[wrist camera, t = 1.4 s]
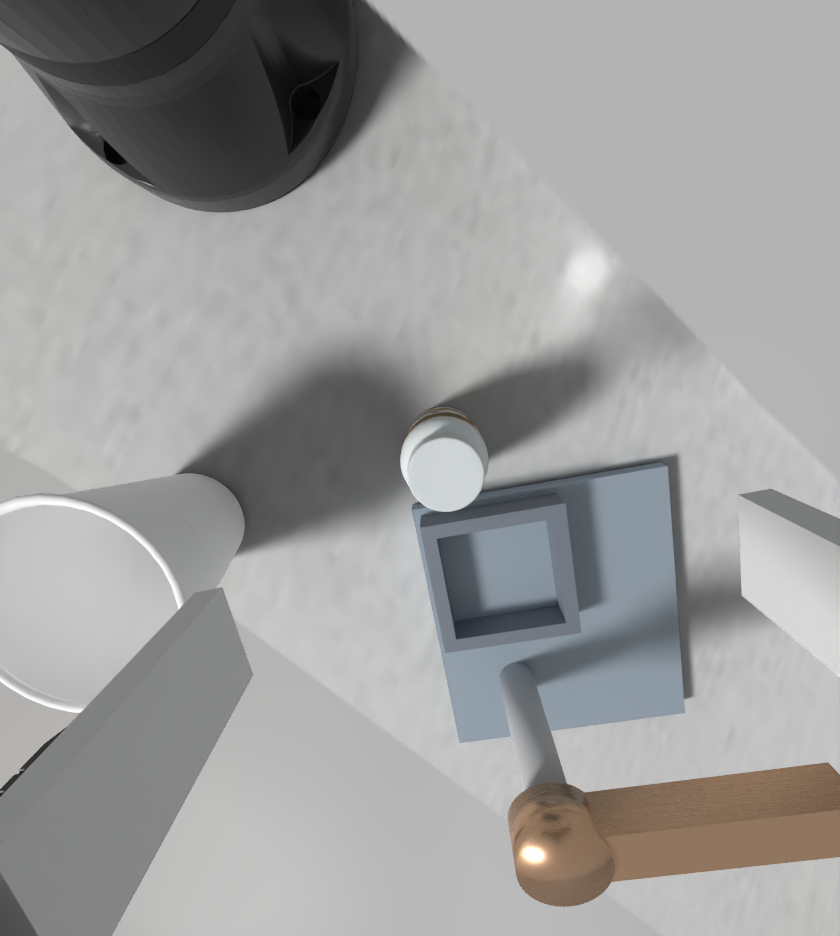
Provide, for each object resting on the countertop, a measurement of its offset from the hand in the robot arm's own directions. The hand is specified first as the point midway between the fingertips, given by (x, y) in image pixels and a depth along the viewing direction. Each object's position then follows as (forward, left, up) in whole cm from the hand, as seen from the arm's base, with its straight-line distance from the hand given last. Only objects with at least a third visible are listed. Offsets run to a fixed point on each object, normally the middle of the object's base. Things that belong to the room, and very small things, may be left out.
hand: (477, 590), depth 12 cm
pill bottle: (-1, -1, -17) cm, 17 cm away
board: (+11, +5, -17) cm, 21 cm away
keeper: (+15, +6, -6) cm, 18 cm away
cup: (+1, -17, -17) cm, 24 cm away
